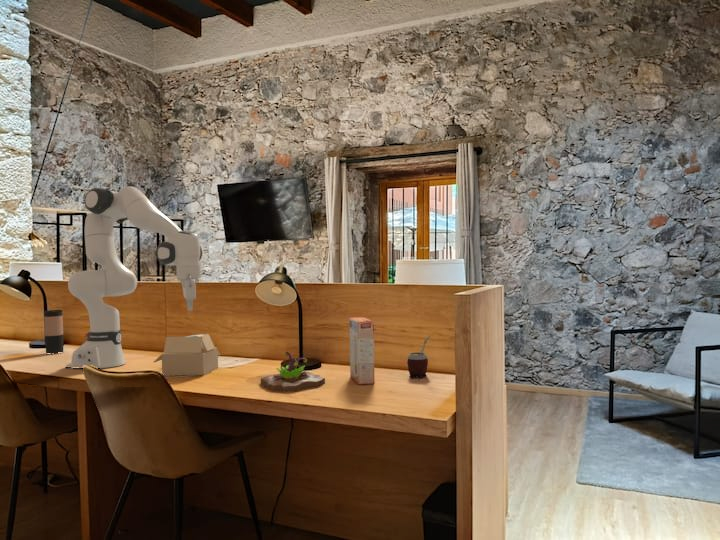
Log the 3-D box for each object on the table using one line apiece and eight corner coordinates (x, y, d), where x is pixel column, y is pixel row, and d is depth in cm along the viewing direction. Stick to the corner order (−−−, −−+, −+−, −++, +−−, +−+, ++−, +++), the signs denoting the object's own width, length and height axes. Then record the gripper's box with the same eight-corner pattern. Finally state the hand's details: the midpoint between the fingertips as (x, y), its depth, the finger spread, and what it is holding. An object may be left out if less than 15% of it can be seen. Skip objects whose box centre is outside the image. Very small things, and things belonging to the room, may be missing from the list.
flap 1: (163, 352, 205) (166, 336, 207) (164, 352, 205) (166, 337, 208) (199, 352, 203) (202, 336, 205) (200, 352, 203) (202, 336, 206)
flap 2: (206, 351, 206) (199, 336, 207) (214, 348, 213) (207, 334, 214) (207, 350, 206) (200, 336, 207) (215, 347, 213) (208, 333, 213)
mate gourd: (404, 375, 196) (403, 332, 195) (426, 373, 198) (425, 331, 197) (412, 380, 189) (411, 335, 188) (434, 378, 191) (433, 334, 190)
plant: (302, 376, 201) (301, 345, 201) (333, 385, 185) (332, 351, 185) (251, 385, 189) (250, 351, 188) (279, 395, 173) (278, 359, 173)
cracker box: (375, 384, 184) (374, 320, 183) (357, 385, 182) (356, 321, 182) (366, 375, 197) (365, 316, 197) (350, 376, 196) (348, 317, 196)
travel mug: (42, 353, 262) (41, 311, 262) (59, 351, 268) (58, 309, 268) (49, 355, 257) (47, 311, 257) (66, 352, 263) (65, 310, 263)
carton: (149, 375, 206) (148, 353, 206) (173, 365, 225) (172, 344, 225) (203, 375, 203) (202, 353, 203) (223, 365, 222) (222, 344, 222)
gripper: (199, 274, 202) (200, 312, 203) (196, 273, 222) (197, 307, 222) (181, 275, 200) (182, 313, 201) (179, 273, 220) (180, 308, 220)
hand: (190, 310), depth 212 cm, fingers closed
